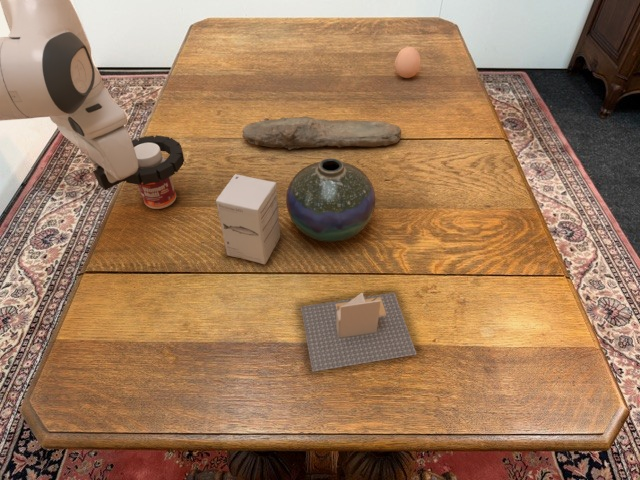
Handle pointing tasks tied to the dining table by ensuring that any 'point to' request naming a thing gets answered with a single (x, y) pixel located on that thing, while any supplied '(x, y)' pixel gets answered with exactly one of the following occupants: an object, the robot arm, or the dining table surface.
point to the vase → (330, 200)
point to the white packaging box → (249, 218)
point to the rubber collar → (150, 173)
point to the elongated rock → (320, 133)
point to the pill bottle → (160, 191)
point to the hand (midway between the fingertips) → (108, 175)
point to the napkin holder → (356, 331)
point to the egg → (407, 62)
